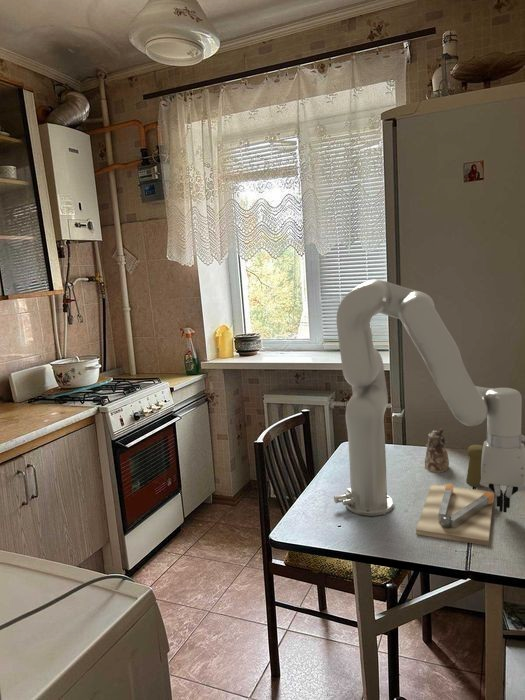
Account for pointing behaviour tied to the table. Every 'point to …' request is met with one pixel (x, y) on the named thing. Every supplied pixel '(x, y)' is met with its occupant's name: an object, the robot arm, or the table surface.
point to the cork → (474, 466)
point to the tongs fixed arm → (446, 501)
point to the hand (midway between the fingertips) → (503, 509)
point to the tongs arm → (467, 511)
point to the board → (467, 531)
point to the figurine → (436, 453)
